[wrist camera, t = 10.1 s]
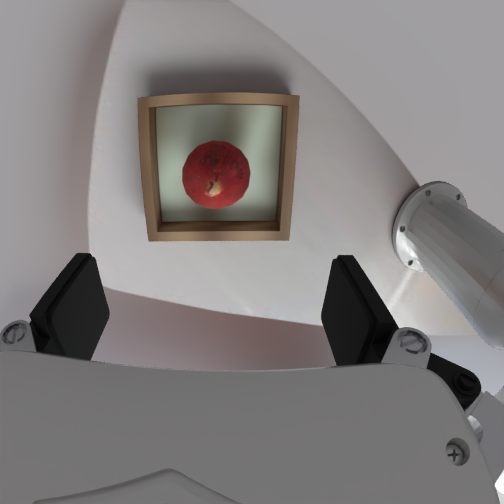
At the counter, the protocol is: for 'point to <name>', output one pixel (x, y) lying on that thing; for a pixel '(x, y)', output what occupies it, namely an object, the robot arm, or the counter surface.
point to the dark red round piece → (216, 174)
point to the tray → (228, 130)
